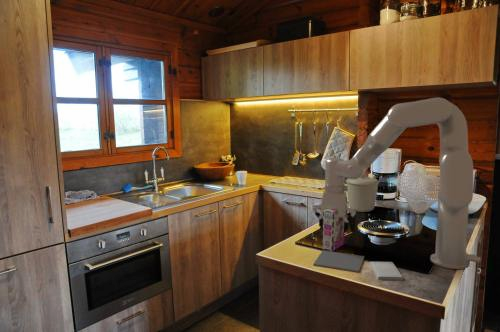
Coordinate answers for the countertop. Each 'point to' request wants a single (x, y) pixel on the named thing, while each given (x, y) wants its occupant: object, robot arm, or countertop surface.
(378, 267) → the hard drive
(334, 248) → the candy bar box
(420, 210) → the heart
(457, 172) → the robot arm
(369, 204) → the canister
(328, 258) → the mat
